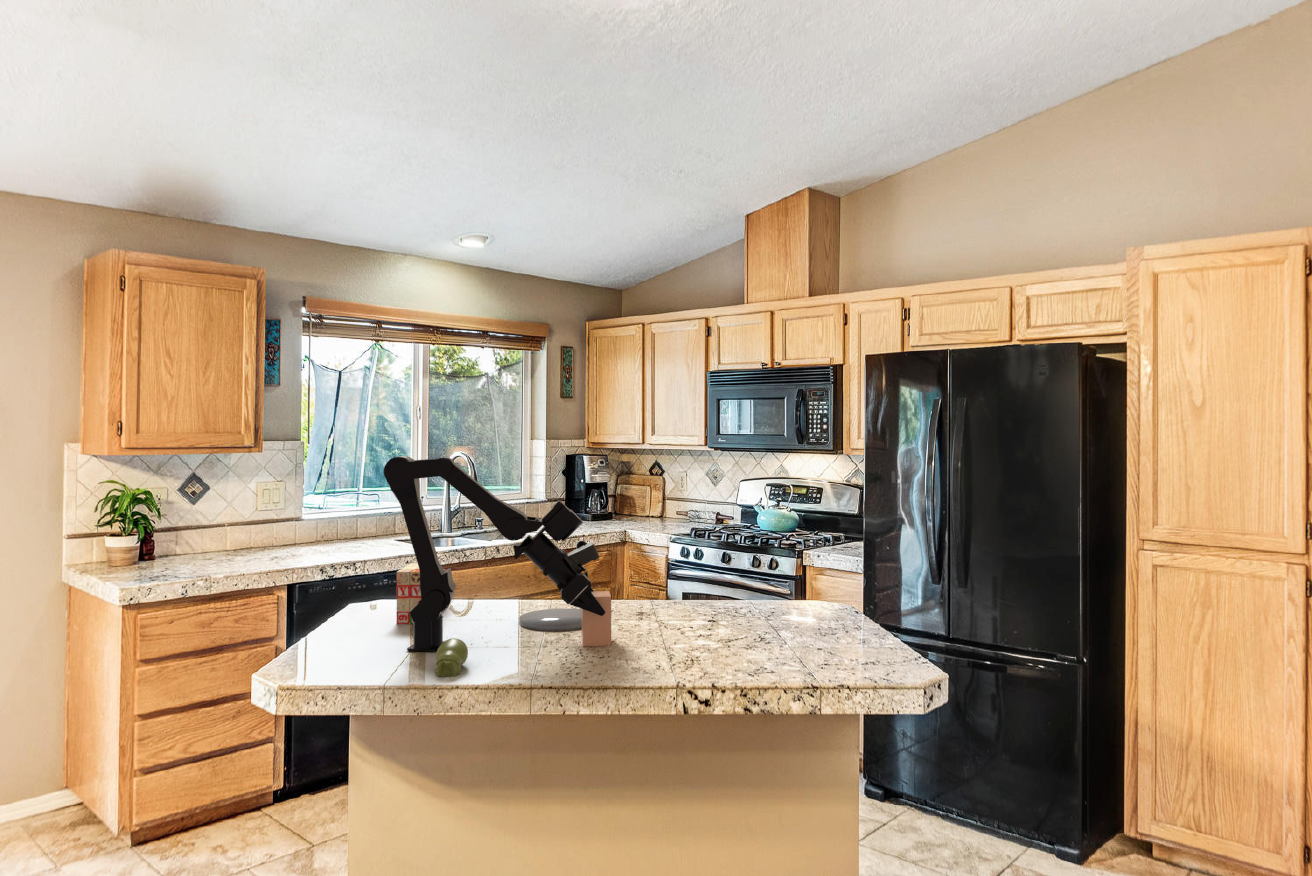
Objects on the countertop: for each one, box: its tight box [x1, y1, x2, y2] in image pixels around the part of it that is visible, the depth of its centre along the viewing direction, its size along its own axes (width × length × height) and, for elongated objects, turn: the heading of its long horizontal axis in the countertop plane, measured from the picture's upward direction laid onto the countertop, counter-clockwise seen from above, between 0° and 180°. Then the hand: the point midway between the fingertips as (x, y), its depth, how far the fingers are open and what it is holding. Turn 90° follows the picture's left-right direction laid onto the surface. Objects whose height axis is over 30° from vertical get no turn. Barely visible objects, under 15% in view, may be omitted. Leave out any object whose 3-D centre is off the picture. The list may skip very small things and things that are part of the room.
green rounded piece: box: [434, 638, 469, 678], centre depth 154 cm, size 6×5×10 cm
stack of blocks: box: [395, 562, 446, 625], centre depth 202 cm, size 21×6×12 cm, turn 0°
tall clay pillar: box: [580, 590, 612, 647], centre depth 174 cm, size 6×6×10 cm
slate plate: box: [518, 608, 582, 632], centre depth 193 cm, size 18×18×1 cm
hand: (602, 609), depth 174 cm, fingers open, 9 cm apart
